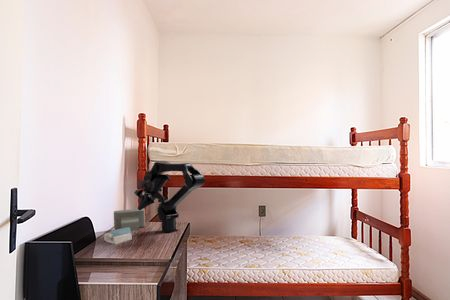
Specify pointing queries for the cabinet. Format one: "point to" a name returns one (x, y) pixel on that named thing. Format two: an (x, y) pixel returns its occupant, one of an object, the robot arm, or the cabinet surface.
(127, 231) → the bottle
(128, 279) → the cabinet surface
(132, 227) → the digital clock
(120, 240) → the u rest
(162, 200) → the robot arm
